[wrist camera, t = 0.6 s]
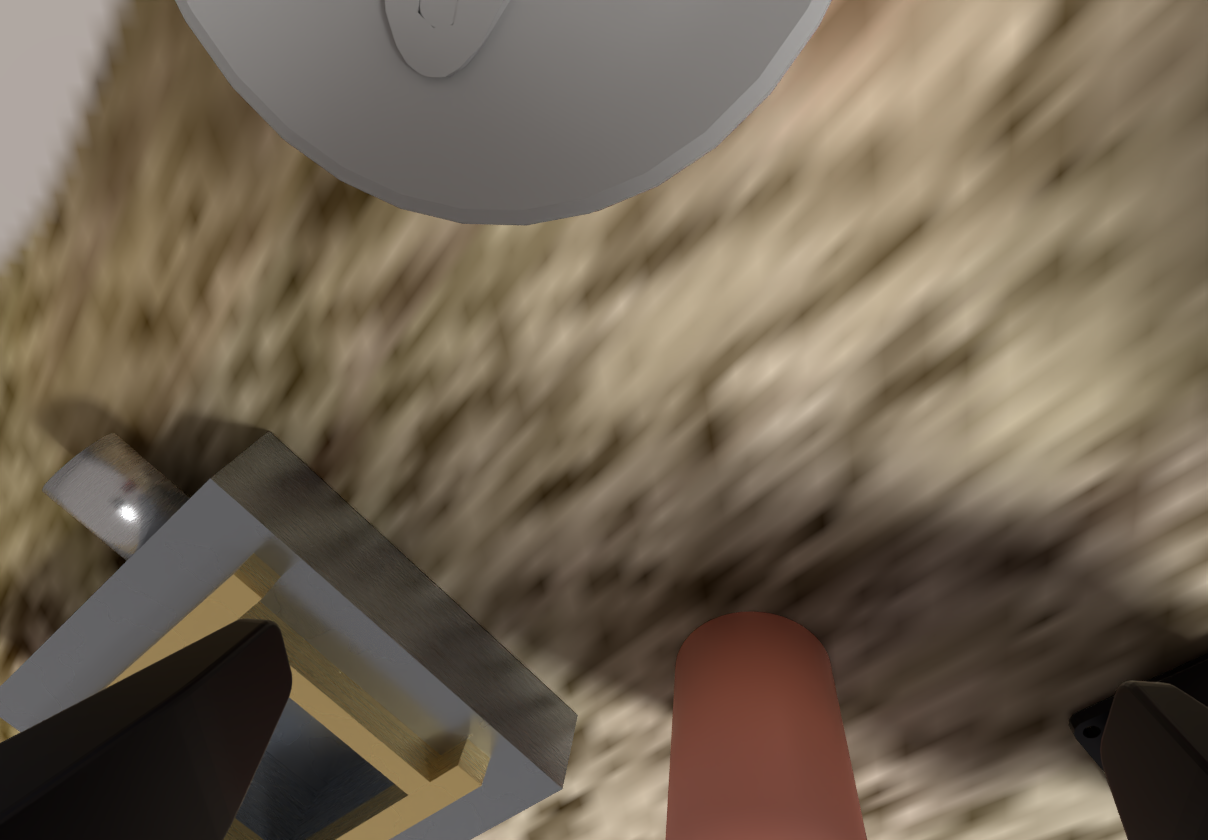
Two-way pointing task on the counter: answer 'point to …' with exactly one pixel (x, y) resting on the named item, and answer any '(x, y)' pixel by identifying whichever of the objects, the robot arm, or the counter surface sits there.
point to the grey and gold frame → (305, 650)
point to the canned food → (504, 91)
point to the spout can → (758, 737)
